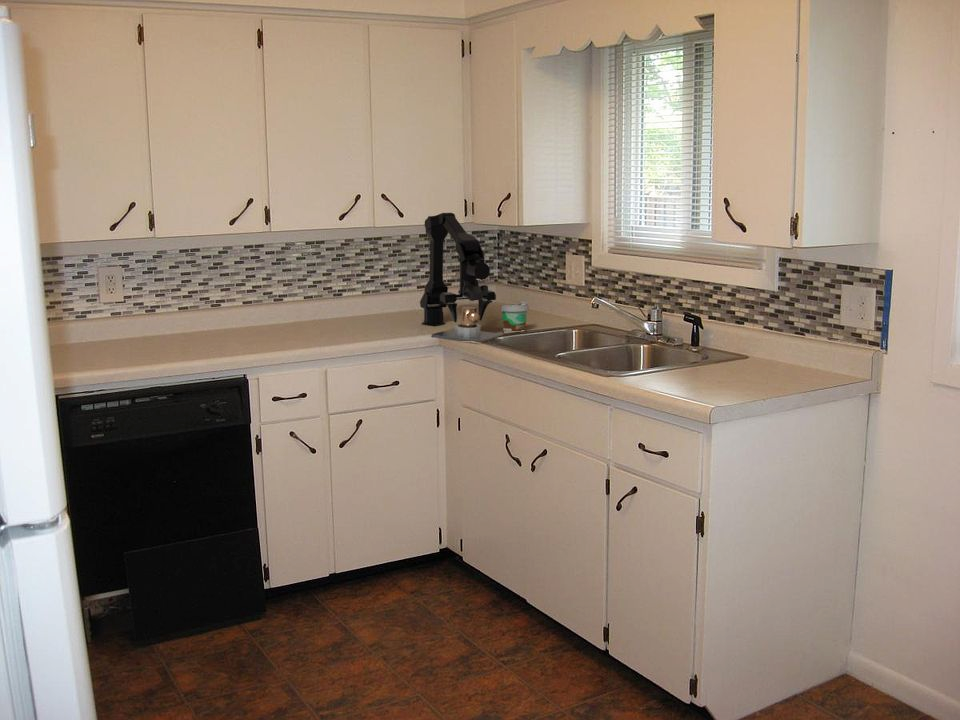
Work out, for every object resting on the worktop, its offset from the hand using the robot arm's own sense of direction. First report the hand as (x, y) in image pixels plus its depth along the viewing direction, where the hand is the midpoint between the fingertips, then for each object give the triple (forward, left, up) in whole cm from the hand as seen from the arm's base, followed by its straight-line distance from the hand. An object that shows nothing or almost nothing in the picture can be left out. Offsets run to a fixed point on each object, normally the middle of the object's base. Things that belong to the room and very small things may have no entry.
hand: (467, 321), depth 341 cm
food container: (+8, +19, -6) cm, 21 cm away
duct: (0, 0, -6) cm, 6 cm away
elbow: (+1, -1, -4) cm, 5 cm away
